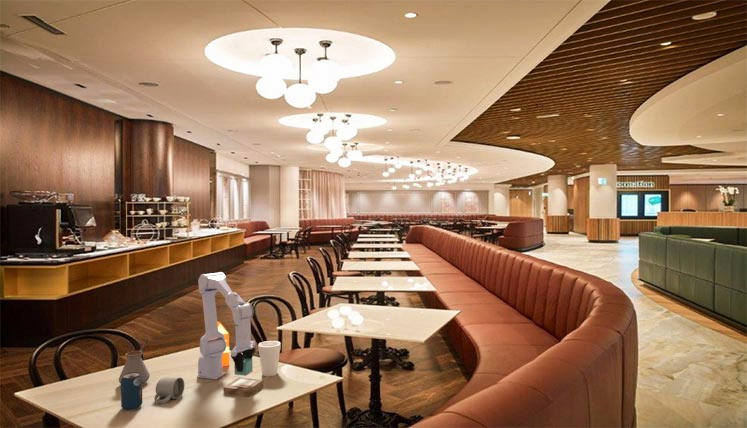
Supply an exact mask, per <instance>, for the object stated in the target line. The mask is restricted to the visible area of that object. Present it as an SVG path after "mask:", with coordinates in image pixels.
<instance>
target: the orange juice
mask: <svg viewBox="0 0 747 428" xmlns="http://www.w3.org/2000/svg"><path fill="white" fill-rule="evenodd" d="M217 323H218V331H219V332H220V333H222V334H224V338H225V341H226V345H227V346H226V350H225V351H224V354H222V368H223V367H225V366H226V367H227V366H230V332H228V331H227V330H226V329H227V328H225V327H224V325H223V324H222V323H221V322H220V321H218V320H217ZM215 339H217V338H215ZM210 340H213V339H210ZM208 341H209V340H208Z"/></svg>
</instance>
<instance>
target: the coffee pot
mask: <svg viewBox="0 0 747 428" xmlns="http://www.w3.org/2000/svg"><path fill="white" fill-rule="evenodd" d="M148 340H149V341H148ZM149 342H151V338H149V337H147V338H145V340H144V342H143V344H142V345H141V347H140V349H139V350H133V351H128V352H126V353H125V354H124V355H125V357H126V361H125V363H124V365H123V367H122V371H121V372H120V375H119V376H118V382H119V384H120V385H121V380H122V378H123V375H124V374H127V373H131V372H139V373H140V375H141V377H142V386H143V385H145V384H146V382H147V381H149V379H150V376H151V375H150V371H149V370H148V368H147V366H146V363H145V362H144V360H143V358H142V356H143V354H144V353H143V351H144V349H145V348H146V345H147V343H149Z"/></svg>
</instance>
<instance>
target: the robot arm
mask: <svg viewBox="0 0 747 428" xmlns="http://www.w3.org/2000/svg"><path fill="white" fill-rule="evenodd" d="M197 281H198V282H197V283H198V291H199V294H200V295H201V298H202V308H203V318H204V328H205V333H204V335H202V337H200V339H199V352H200V356H199V358H198V361H197V362H198V363H197V370H198V371H197V374H198V375H197V376H196V377H197V378H199V379H200V378H202V379H209V380H210V379H211V380H218V379H220V378H221V377H223V376H224V375H226V374H227V371H223V367H222V354H224V351H225V350H226V346H227V345H226V341H225V338H224V334H222V333H220V332H219V331H218V323H217V321H218V315H217V305H216V296H215V295H216V294H217V292H219V293H220V294H221V295H222V296H223V297H224V298H225V299H224V303H225V304H226V305H227V307H228V308H229V309H230V310H231V312H232V313H231V314H232V318H233V324H234V325H235V346H234V347H233V349H232V350H231V351H230V357H231V359H232V361H233V363H235V365H234V367H235V366H236V370H237V372H242V371H243V362H244V358H248V359H252V360H253V357H254V355H255V352H256V348H255V346H256V341H255V340H251V339H252V337H251V335H252V334H251V331H252V329H251V325H252V324H251V318H253V316H254V308H253V305H252V303H250V302H247V301H246V302H245V301H244V299H243V298H241V296H240V295H239V294H238V293H237V292H234V291H233V290H232V289H231V287H230V286H229V285H228V283H227V276H226V275H225V273H224V272H222V271H219V272H214V273H213V272H212V273H206V274H205V273H202V274H200V276H199V278H198V280H197ZM215 338H217V339H215ZM210 339H213V340H210ZM208 340H209V341H208Z"/></svg>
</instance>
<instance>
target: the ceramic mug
mask: <svg viewBox="0 0 747 428" xmlns="http://www.w3.org/2000/svg"><path fill="white" fill-rule="evenodd" d="M184 391H185V380H184V378H183V377H180V376H177V377H175V376H174V377H173V376H172V377H170V376H169V377H162V378H160V379H158V381H157V383H156V386H155V393H156V394H155V395H154V402H155V403H156V404H159V405H162V404H165V403H167V402H169V401H170V400H171V399H173V400H178V399H180V397H182V395H183V393H184ZM159 397H160V398H162V399H161V400H158V398H159Z"/></svg>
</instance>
